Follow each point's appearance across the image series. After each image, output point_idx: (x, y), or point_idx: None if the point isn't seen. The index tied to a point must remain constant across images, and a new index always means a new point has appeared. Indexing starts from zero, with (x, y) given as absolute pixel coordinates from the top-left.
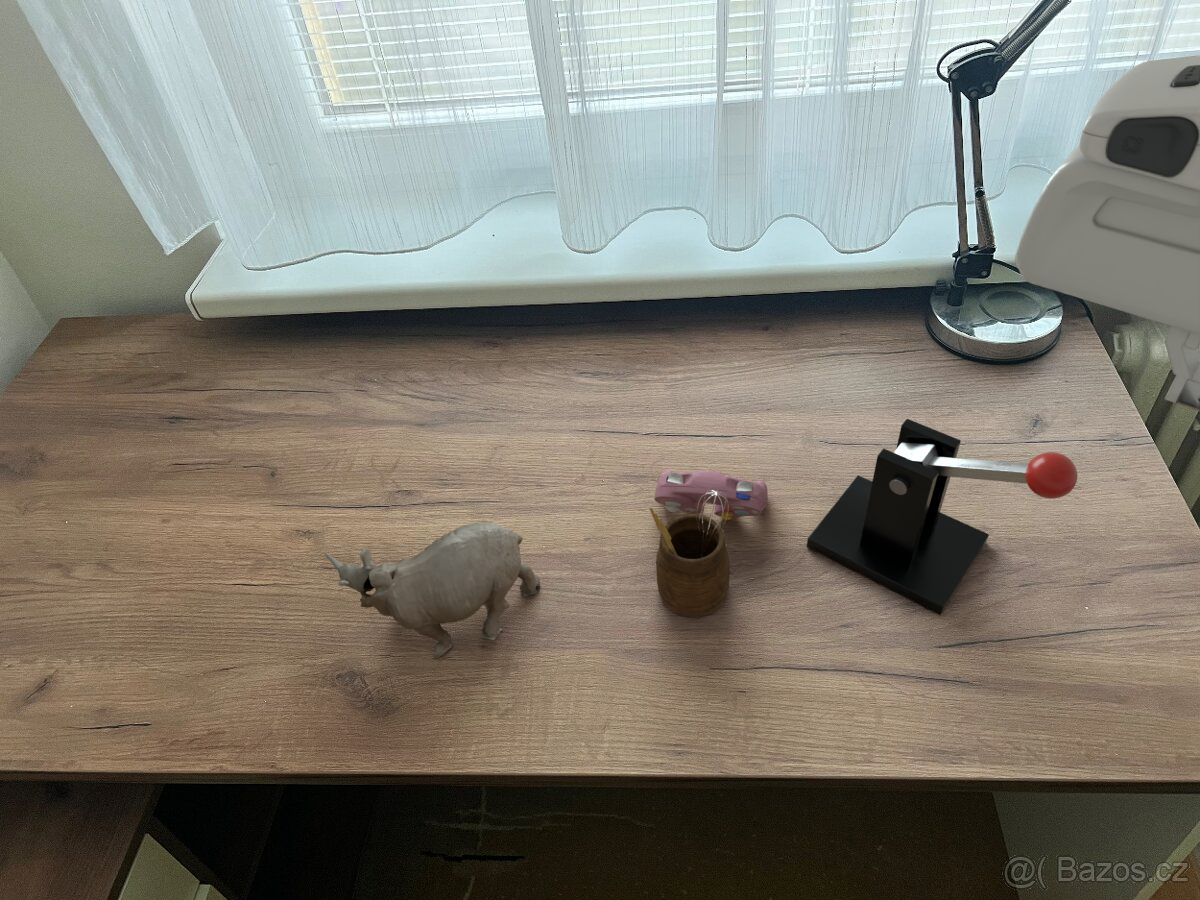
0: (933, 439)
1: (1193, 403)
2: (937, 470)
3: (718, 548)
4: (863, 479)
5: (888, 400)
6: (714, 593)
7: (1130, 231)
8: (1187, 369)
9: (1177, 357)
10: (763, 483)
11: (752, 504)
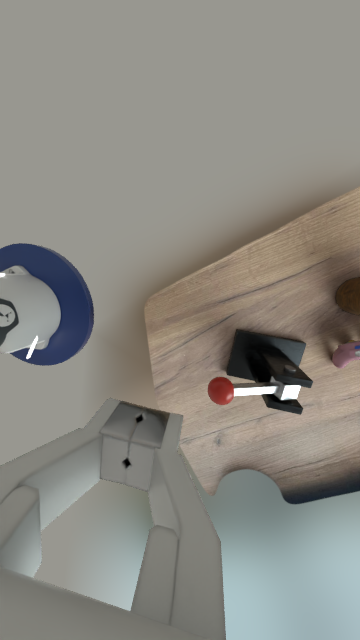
0: (282, 403)
1: (149, 413)
2: (273, 384)
3: None
4: None
5: (285, 438)
6: (351, 287)
7: None
8: (162, 467)
9: (183, 493)
10: (342, 364)
11: (350, 345)
